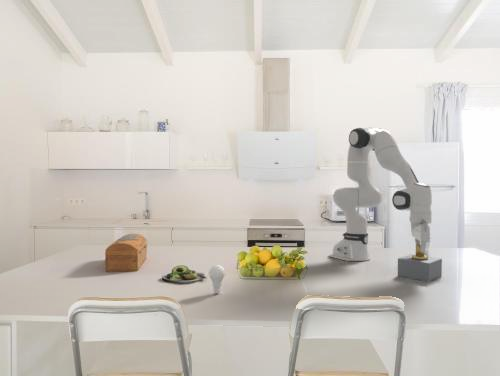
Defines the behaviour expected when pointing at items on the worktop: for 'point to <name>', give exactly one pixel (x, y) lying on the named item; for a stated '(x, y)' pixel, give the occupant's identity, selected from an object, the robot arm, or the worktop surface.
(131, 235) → the wooden box
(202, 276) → the salad plate
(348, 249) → the robot arm
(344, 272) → the worktop surface
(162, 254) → the worktop surface
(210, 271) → the lightbulb
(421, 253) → the brass knob plunger
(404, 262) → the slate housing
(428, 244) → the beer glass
